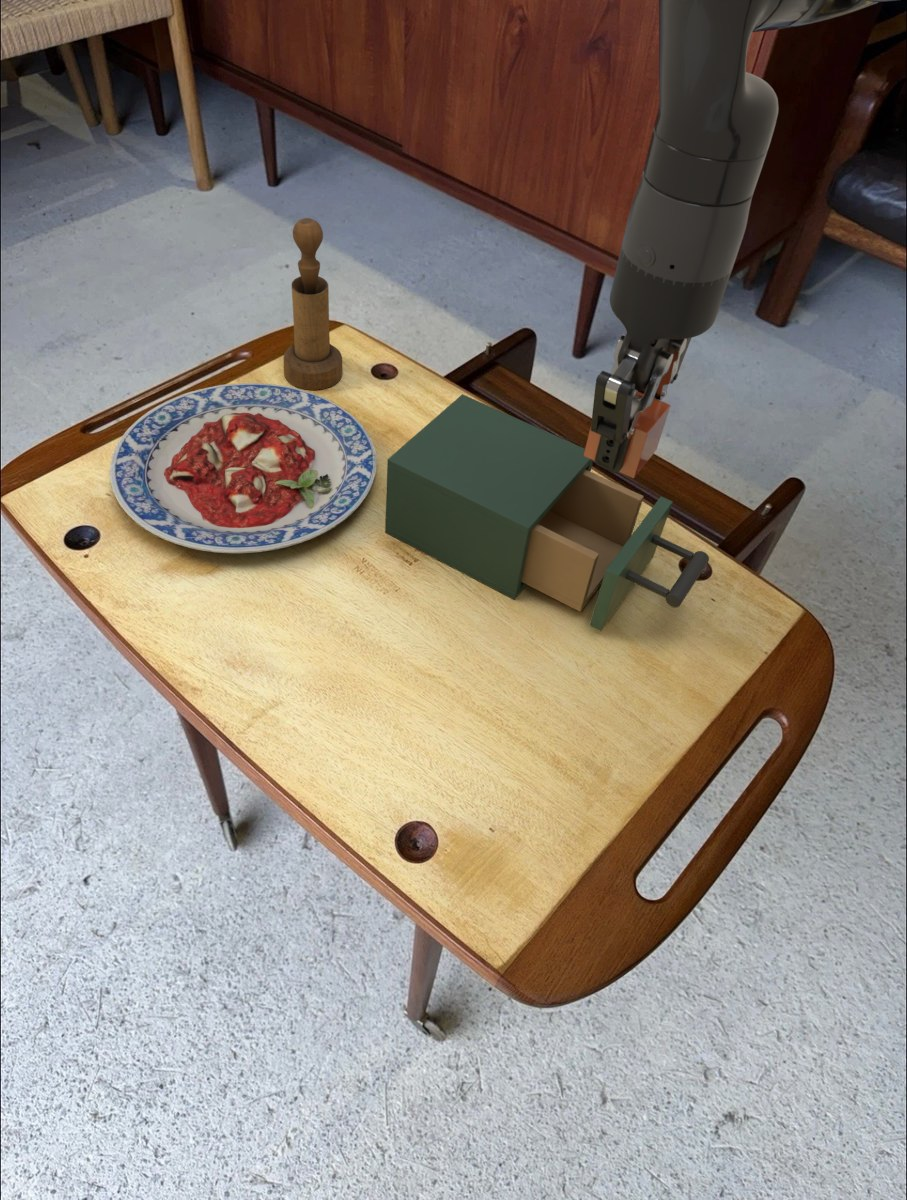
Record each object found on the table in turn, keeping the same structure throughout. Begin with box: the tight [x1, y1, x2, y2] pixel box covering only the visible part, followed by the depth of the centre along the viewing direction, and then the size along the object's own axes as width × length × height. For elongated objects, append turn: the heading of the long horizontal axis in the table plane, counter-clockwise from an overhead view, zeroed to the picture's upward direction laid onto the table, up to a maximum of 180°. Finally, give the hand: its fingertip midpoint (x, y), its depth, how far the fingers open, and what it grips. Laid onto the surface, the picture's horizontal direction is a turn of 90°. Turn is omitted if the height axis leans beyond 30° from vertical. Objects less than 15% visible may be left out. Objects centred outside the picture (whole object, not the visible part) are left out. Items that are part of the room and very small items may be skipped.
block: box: [584, 391, 671, 479], centre depth 71 cm, size 4×4×4 cm
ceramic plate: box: [109, 382, 377, 554], centre depth 89 cm, size 26×26×3 cm
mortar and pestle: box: [283, 217, 343, 391], centre depth 96 cm, size 7×6×18 cm
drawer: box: [521, 470, 710, 632], centre depth 81 cm, size 19×11×7 cm, turn 57°
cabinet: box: [384, 393, 594, 601], centre depth 85 cm, size 15×13×9 cm
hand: (621, 449), depth 72 cm, fingers closed on block, 4 cm apart
